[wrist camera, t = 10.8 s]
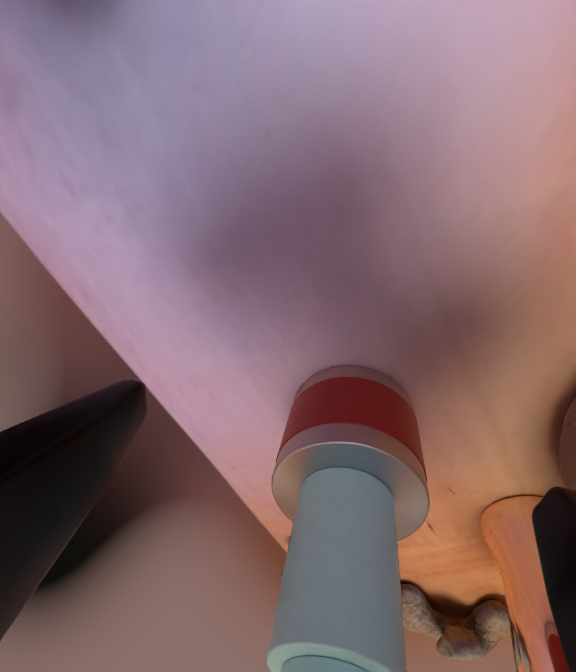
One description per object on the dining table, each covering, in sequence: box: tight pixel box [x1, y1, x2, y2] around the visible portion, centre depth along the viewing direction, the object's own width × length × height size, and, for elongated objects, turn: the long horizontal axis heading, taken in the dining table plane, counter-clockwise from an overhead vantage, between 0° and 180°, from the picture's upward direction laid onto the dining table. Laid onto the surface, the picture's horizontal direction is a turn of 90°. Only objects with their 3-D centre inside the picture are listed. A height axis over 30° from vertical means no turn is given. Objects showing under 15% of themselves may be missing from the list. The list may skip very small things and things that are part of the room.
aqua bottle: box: [267, 467, 407, 672], centre depth 13 cm, size 5×5×10 cm
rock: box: [280, 571, 511, 661], centre depth 31 cm, size 20×5×7 cm
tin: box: [272, 366, 429, 541], centre depth 20 cm, size 8×8×6 cm
